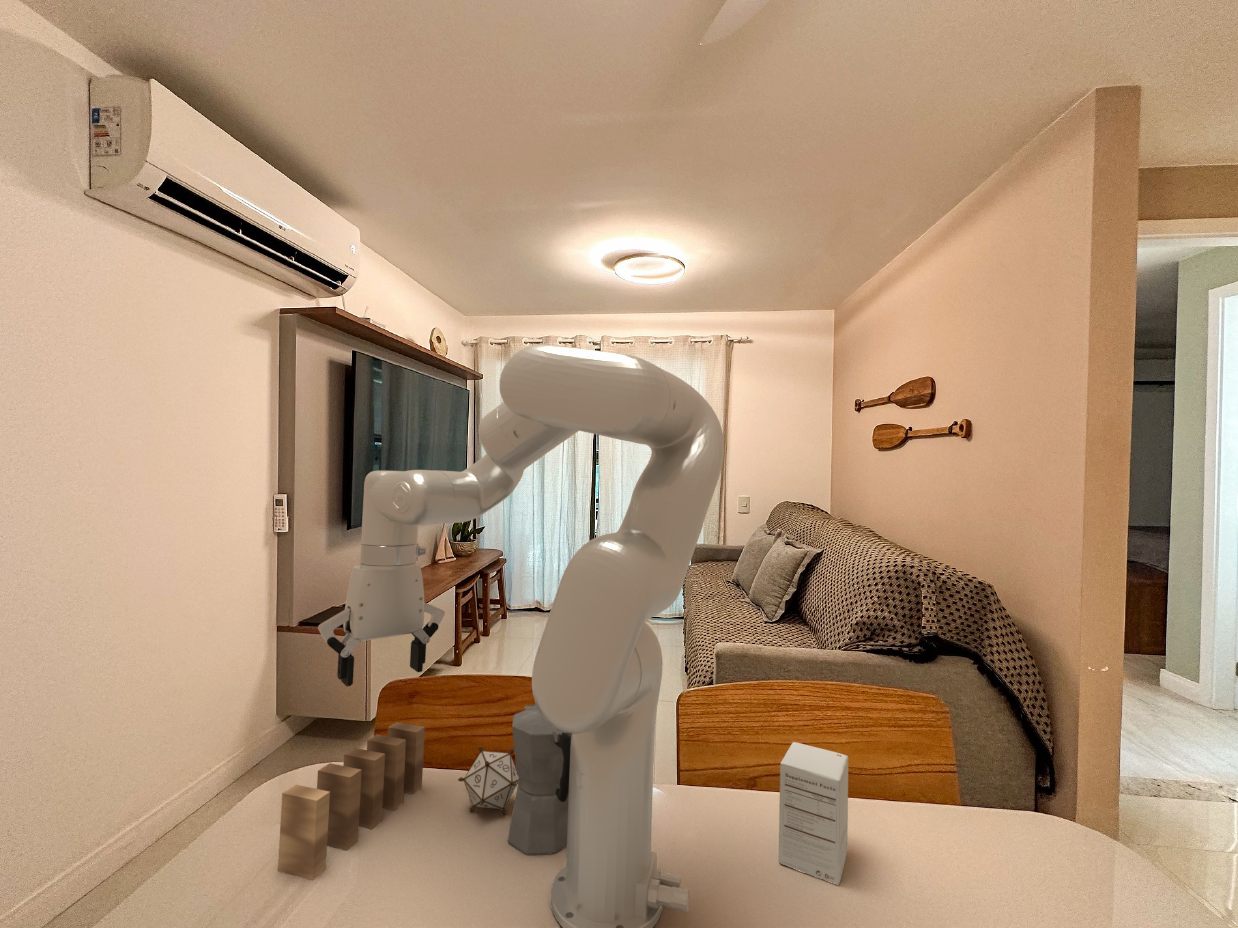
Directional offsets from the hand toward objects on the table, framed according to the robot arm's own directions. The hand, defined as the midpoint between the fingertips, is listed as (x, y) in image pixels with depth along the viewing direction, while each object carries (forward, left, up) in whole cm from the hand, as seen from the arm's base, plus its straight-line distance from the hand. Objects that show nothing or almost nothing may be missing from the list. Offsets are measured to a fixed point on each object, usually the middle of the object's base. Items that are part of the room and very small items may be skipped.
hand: (382, 676), depth 79 cm
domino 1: (0, +13, -19) cm, 23 cm away
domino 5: (0, -6, -19) cm, 19 cm away
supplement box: (-59, -8, -19) cm, 63 cm away
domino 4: (0, -1, -19) cm, 19 cm away
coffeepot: (-25, -1, -19) cm, 31 cm away
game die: (-15, -5, -19) cm, 25 cm away
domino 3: (0, +3, -19) cm, 19 cm away
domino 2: (0, +8, -19) cm, 20 cm away
